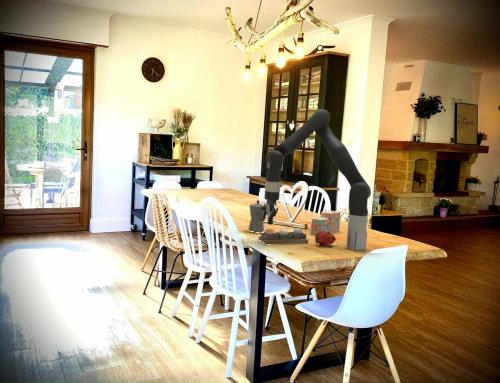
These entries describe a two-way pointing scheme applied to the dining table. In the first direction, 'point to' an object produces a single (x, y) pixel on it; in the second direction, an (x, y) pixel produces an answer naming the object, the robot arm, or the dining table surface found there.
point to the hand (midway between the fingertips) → (270, 224)
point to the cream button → (283, 231)
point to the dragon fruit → (324, 238)
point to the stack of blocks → (326, 222)
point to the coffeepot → (257, 217)
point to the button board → (284, 238)
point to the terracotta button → (269, 232)
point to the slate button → (297, 231)
